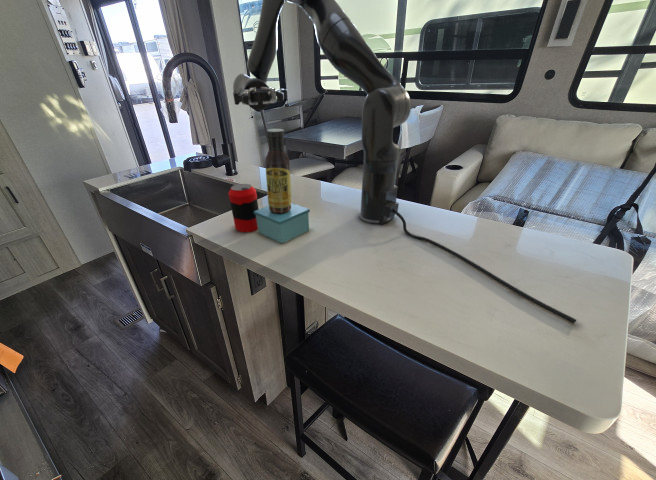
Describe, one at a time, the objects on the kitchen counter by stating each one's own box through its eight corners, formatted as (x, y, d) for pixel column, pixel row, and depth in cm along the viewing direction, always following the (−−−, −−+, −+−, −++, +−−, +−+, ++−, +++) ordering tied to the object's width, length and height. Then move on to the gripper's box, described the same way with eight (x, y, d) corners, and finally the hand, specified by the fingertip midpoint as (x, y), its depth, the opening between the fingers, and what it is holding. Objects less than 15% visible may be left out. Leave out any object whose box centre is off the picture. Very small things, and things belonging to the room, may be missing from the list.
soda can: (242, 235, 88) (234, 193, 81) (231, 226, 93) (223, 186, 86) (265, 227, 92) (260, 187, 84) (253, 219, 97) (247, 180, 89)
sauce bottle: (267, 214, 83) (256, 132, 71) (271, 205, 88) (262, 127, 76) (291, 214, 83) (284, 131, 71) (294, 205, 88) (288, 127, 76)
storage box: (310, 230, 89) (309, 209, 85) (281, 244, 83) (279, 222, 79) (285, 220, 95) (283, 199, 92) (256, 232, 89) (253, 211, 86)
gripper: (228, 79, 87) (232, 82, 74) (278, 76, 90) (290, 78, 77) (233, 110, 91) (238, 117, 79) (281, 106, 94) (292, 113, 81)
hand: (264, 98), depth 78 cm, fingers open, 8 cm apart
